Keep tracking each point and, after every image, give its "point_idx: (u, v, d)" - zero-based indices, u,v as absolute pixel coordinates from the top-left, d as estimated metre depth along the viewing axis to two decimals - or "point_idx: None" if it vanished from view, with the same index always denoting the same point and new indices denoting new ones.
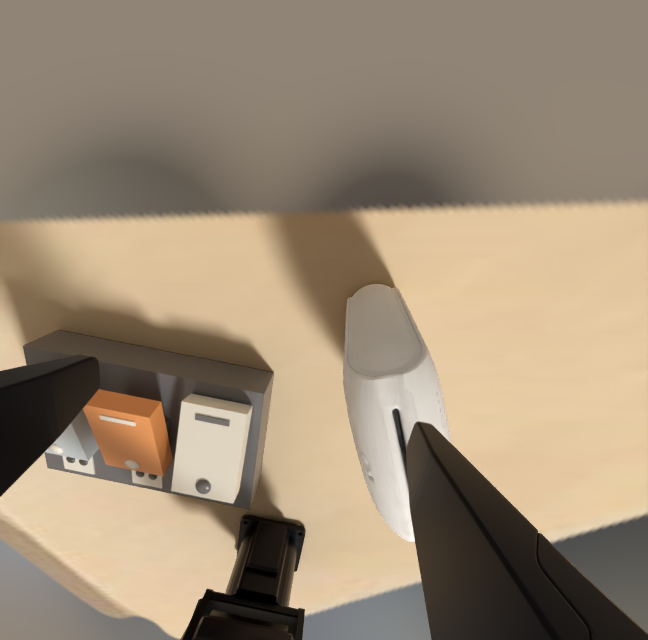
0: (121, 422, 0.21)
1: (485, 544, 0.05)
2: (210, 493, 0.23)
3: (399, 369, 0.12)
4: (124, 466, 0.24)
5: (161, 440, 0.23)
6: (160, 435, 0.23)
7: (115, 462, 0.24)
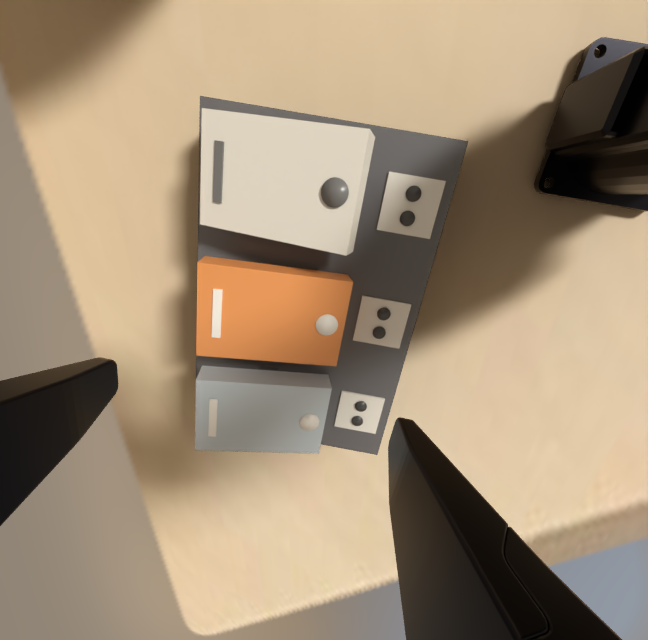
0: (219, 309, 0.15)
1: (454, 538, 0.05)
2: (348, 178, 0.12)
3: None
4: (336, 339, 0.16)
5: (275, 269, 0.15)
6: (262, 267, 0.15)
7: (327, 350, 0.16)
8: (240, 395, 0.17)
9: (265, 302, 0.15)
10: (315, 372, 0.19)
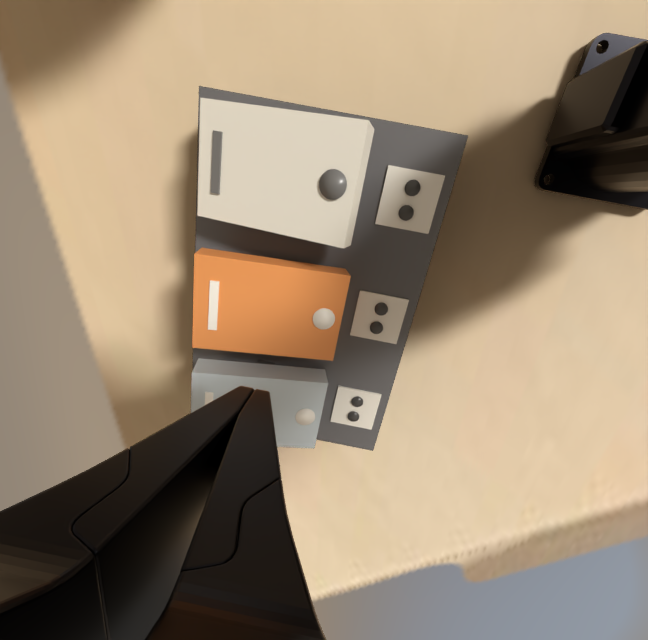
0: (215, 301, 0.14)
1: None
2: (346, 170, 0.12)
3: None
4: (333, 333, 0.16)
5: (272, 261, 0.15)
6: (259, 259, 0.15)
7: (324, 344, 0.16)
8: None
9: (262, 295, 0.15)
10: (312, 367, 0.19)
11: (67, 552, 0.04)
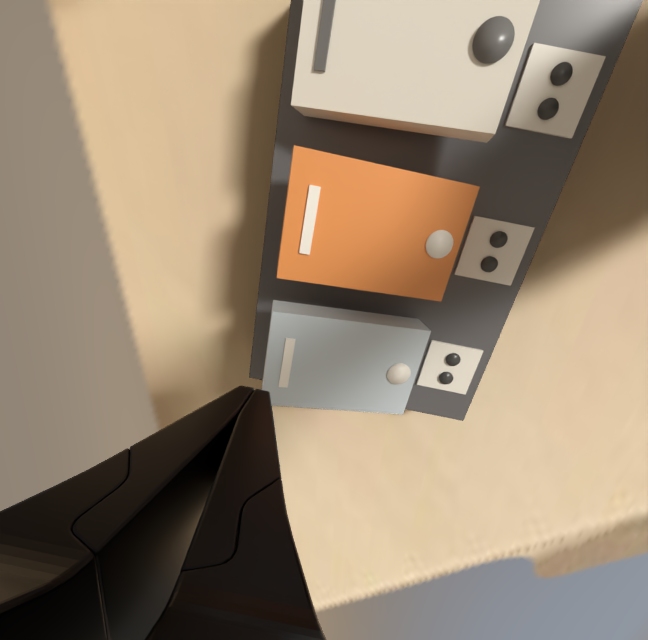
0: (313, 213, 0.11)
1: None
2: (516, 17, 0.09)
3: None
4: (446, 265, 0.13)
5: None
6: None
7: (434, 279, 0.13)
8: (323, 335, 0.13)
9: (370, 208, 0.12)
10: (402, 316, 0.16)
11: (67, 553, 0.04)
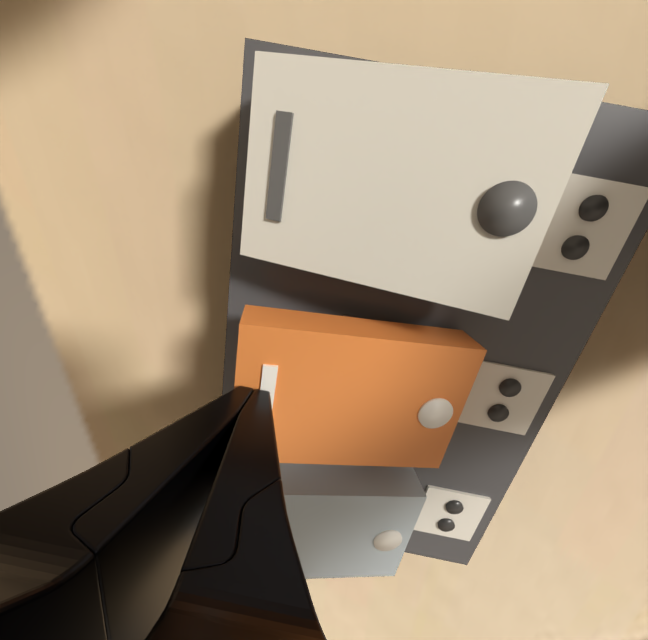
0: (270, 395, 0.09)
1: None
2: (540, 183, 0.06)
3: None
4: (445, 432, 0.10)
5: (360, 328, 0.09)
6: (340, 325, 0.09)
7: (430, 447, 0.10)
8: (291, 511, 0.11)
9: (345, 383, 0.09)
10: None
11: (67, 552, 0.04)
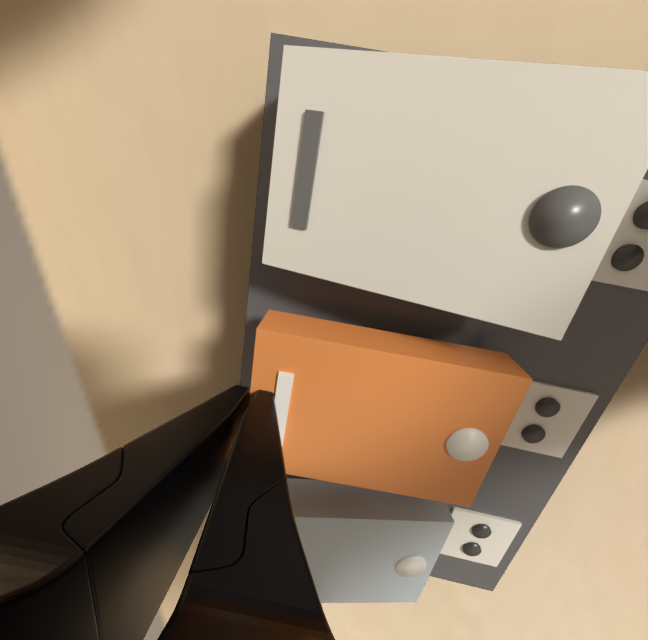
0: (285, 404, 0.09)
1: None
2: (605, 188, 0.06)
3: None
4: (478, 467, 0.09)
5: (385, 341, 0.08)
6: (363, 337, 0.08)
7: (459, 481, 0.09)
8: (310, 534, 0.10)
9: (364, 399, 0.08)
10: None
11: (57, 552, 0.04)
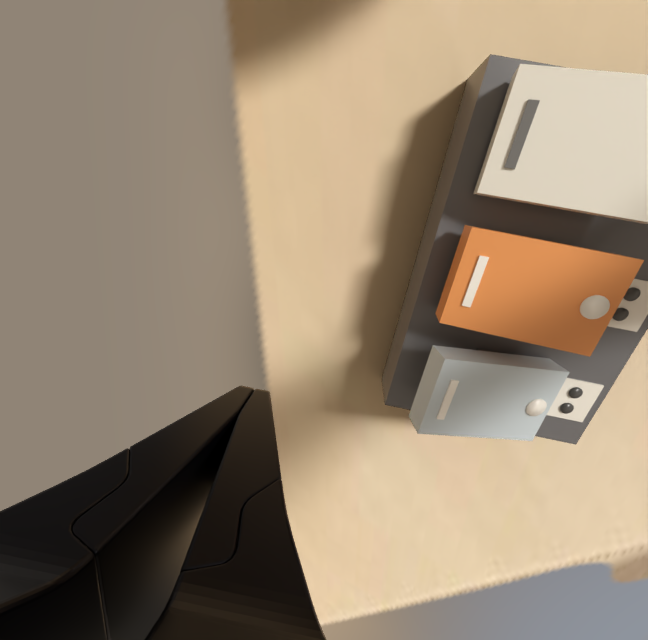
0: (479, 277, 0.14)
1: None
2: None
3: None
4: (600, 325, 0.14)
5: (544, 240, 0.14)
6: None
7: (585, 336, 0.15)
8: (481, 376, 0.16)
9: (530, 274, 0.14)
10: (533, 356, 0.18)
11: (68, 552, 0.04)
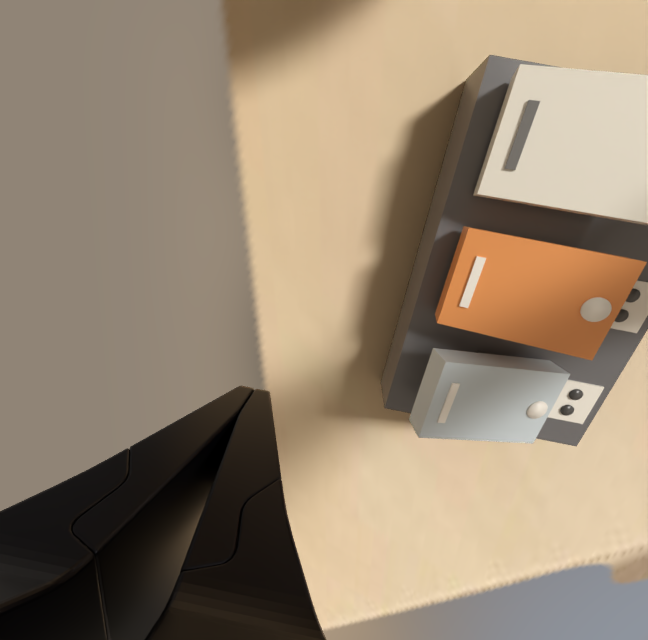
0: (476, 277, 0.14)
1: None
2: None
3: None
4: (601, 328, 0.14)
5: (543, 242, 0.14)
6: (529, 239, 0.14)
7: (586, 339, 0.14)
8: (481, 379, 0.16)
9: (528, 276, 0.14)
10: (533, 358, 0.18)
11: (67, 552, 0.04)
